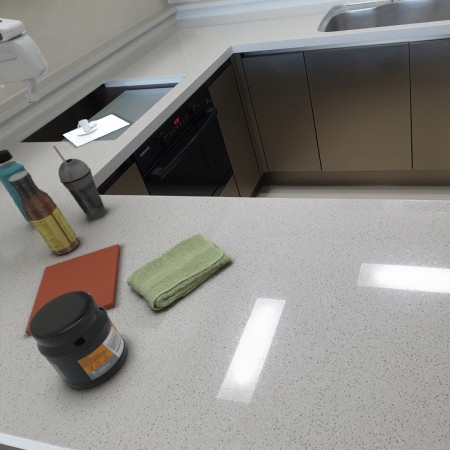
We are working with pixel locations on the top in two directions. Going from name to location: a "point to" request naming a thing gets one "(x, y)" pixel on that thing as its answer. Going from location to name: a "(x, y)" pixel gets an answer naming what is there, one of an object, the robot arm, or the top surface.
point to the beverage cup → (81, 186)
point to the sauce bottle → (44, 214)
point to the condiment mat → (81, 278)
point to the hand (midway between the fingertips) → (13, 105)
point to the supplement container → (78, 339)
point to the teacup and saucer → (94, 129)
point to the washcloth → (177, 271)
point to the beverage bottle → (6, 172)
